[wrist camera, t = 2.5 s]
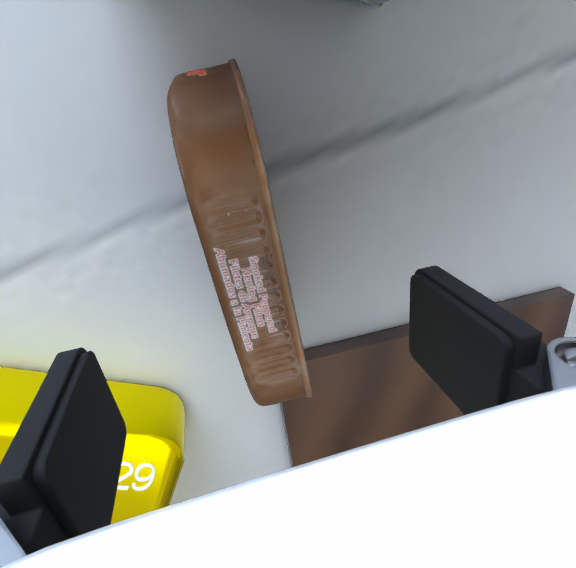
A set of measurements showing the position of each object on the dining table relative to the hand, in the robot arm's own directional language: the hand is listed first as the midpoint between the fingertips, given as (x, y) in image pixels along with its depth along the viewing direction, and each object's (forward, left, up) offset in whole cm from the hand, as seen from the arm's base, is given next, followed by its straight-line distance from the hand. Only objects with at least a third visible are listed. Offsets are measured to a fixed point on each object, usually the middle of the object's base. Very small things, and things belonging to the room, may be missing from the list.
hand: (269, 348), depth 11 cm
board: (-12, +18, -11) cm, 24 cm away
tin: (0, 0, -11) cm, 11 cm away
